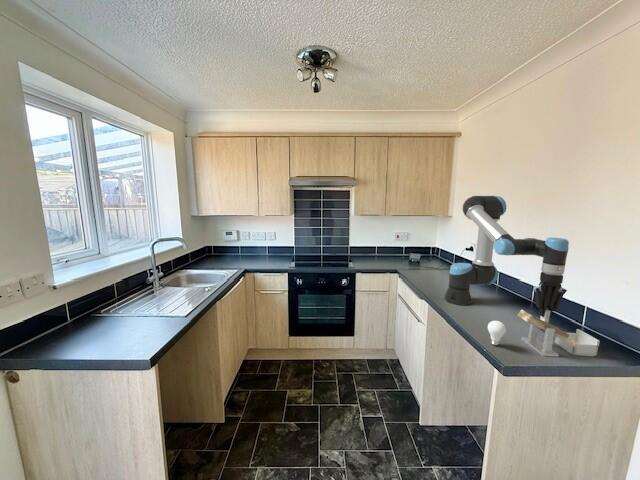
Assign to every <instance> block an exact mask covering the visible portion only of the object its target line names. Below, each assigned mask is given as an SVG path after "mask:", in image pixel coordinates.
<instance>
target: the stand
mask: <svg viewBox="0 0 640 480" xmlns="http://www.w3.org/2000/svg"><path fill="white" fill-rule="evenodd" d="M535 317H536V316H535ZM536 318H538V319H540V318H539V317H536ZM538 331H539V329H538V328H537V327H536V326H534V325H532V324H530V323H529V331H528V336H521V338H520V339H521V340H522V341H523V342H525V344H527V345H528V346H529V347H531V348H532V349H533V350H535V352H537V353H538V354H539V355H541V356H543V357H553V358H554V357H556V358H558V357H559V354H558V353H557V352H556V351H555V350H553V349H552V348H553V343H554V339H555V338H554V337H555V335H554V332H555V328H553V327H546V330H545V333H544V337H543V342H542V341H541V340H540V339H538V333H539V332H538Z"/></svg>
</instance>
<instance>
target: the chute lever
mask: <svg viewBox="0 0 640 480" xmlns="http://www.w3.org/2000/svg"><path fill="white" fill-rule="evenodd" d="M517 316H518V317H519V318H521V319H522V320H523V321H525V322H526V323H527V324H529V325H530V324H532V325H534V326H536V327H537V328H538V330H540V331H542V332H543V333H544V334H545V330H546V327H553V328H555V332H554V336H558V337H561V338H563V339H565V340H567V338H568V337H569V334H567V333H568V332H566V331H563V330H560V328H559V327H557V326H555V325H553V324H550V323H549V322H548V323H547V322H545V321H542V320H540V318H539V317H537V318H536V316H533V315H532V314H530V313H528V312H527V311H526V310H524V309H521V310H519V312H518V314H517ZM538 318H539V319H538Z"/></svg>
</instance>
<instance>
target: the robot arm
mask: <svg viewBox="0 0 640 480" xmlns="http://www.w3.org/2000/svg"><path fill="white" fill-rule="evenodd" d="M462 212H463V215H464V216H465V217H466V219H468V220H470V221H471V220H472V222H474V223H475V225H476V226H477V227H478V230H477V231H478V232H477V240H476V250H475V259H474V260H472V261H471V263H467V262H455V263H453V264H451V265H450V267H449V277H448V287H447V289H446V291H445V293H444V295H443V297H444V298H443V299H444V300H445V301H446V302H448V303H450V304H452V305H453V304H454V305H457V306H458V305H459V306H469V305H471V304H472V301H473V299H472V295H471V291H470V288H471V286H476V285H479V286H481V285H483V286H487V285H493V284H494V283H496V281H497V280H498V276H499V272H498V269H497V266H495V263H494V262H493V254H494V252H495V253H496V254H498V256H499V255H500V256H536V257H537V256H538V257H541V258H542V263H541V269H540V270H541V272H540V277H539V280H540V282H539V284H538V285H537V286H532V290H533V292H534V302H535V307H536V308H538V309H539V314H538V315H539V316H540V318H539V319H540V320H542V321H545V322H547V323H549V321H550V318H551V316H552V312H555V310H558V309H559V306H560V305H561V301H562V299H563V297H564V295H565V294H566V293H567V291H568V290H567V289H565V288H563V287H562V284H563V281H564V275H565V269H566V262H567V256H568V253H569V249H570V248H569V245H570V244H569V243H570V242H569V240H568V239H566V238H561V237H547V238H546V239H545V240H543V239H538V238H534V237H526V238H514V237H513V236H512V235H510V234H509V233H508V232H507V230H505V228H503V227H502V226H501V224H499V223H498V221H500V219H501V217H502V216H503V215H505V213H506V212H507V202H506V200H505V199H504V198H503V197H502V196H498V195H472V196H470V197H468V198H467V199H465V201H464V202H463V204H462Z"/></svg>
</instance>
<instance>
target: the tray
mask: <svg viewBox="0 0 640 480" xmlns="http://www.w3.org/2000/svg"><path fill="white" fill-rule="evenodd" d="M575 330H576V331H575V332H566V333H567V334H569V337H568V338H567V340H565V339H563V338H561V337H558V336H556V335H554V337H555V338H554V341H553V343H554V344H556V345H558V347H561V348H562V349H563V350H564V351H565V352H567V353H569V354H570V355H572V356H576V357H577V356H580V357H582V356H583V357H594V356H598V351H599V346H600V339H597V338H595V337H594V336H592V335H590V334H588V333H586V332H585V331H583V330H582V329H579V328H577V329H575ZM570 340H575V341H577V342H578V343H573V344H572V343H570V342H569V341H570Z"/></svg>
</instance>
